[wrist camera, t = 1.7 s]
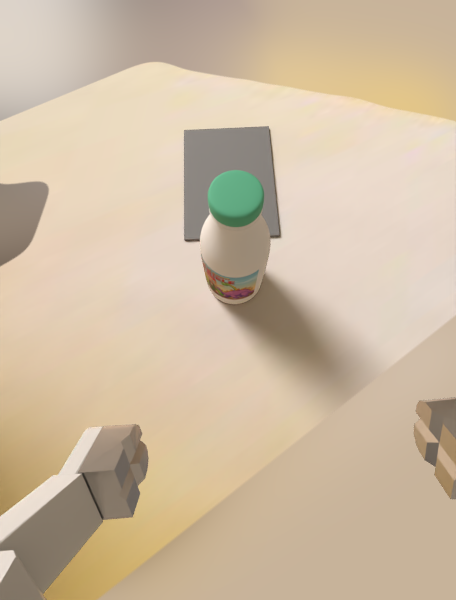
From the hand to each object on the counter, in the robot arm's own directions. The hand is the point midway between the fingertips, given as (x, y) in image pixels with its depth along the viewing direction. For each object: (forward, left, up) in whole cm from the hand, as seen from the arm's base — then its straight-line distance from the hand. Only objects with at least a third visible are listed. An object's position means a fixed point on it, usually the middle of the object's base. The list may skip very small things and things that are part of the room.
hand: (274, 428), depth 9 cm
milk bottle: (-4, +16, -31) cm, 35 cm away
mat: (-9, +31, -31) cm, 45 cm away
